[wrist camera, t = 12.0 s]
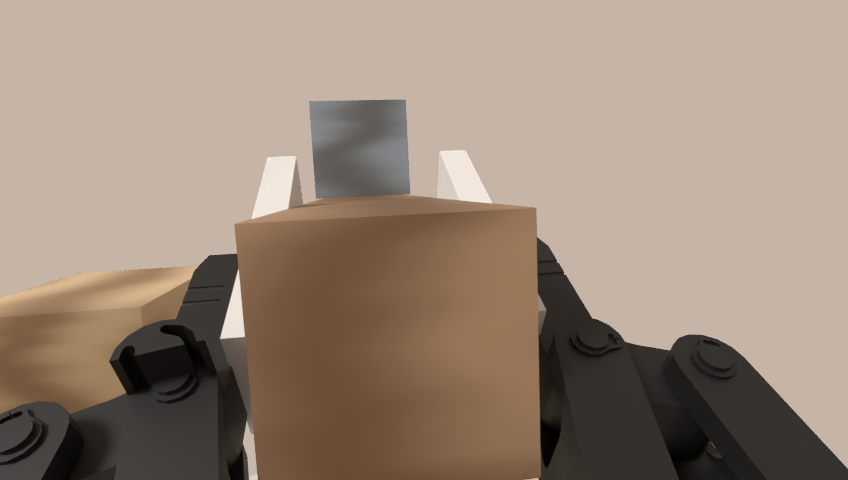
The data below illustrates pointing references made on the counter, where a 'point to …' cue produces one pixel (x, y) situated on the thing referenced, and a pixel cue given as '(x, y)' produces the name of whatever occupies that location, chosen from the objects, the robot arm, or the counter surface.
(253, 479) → the counter surface
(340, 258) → the beam
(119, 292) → the oak stand
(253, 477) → the counter surface
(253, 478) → the counter surface
